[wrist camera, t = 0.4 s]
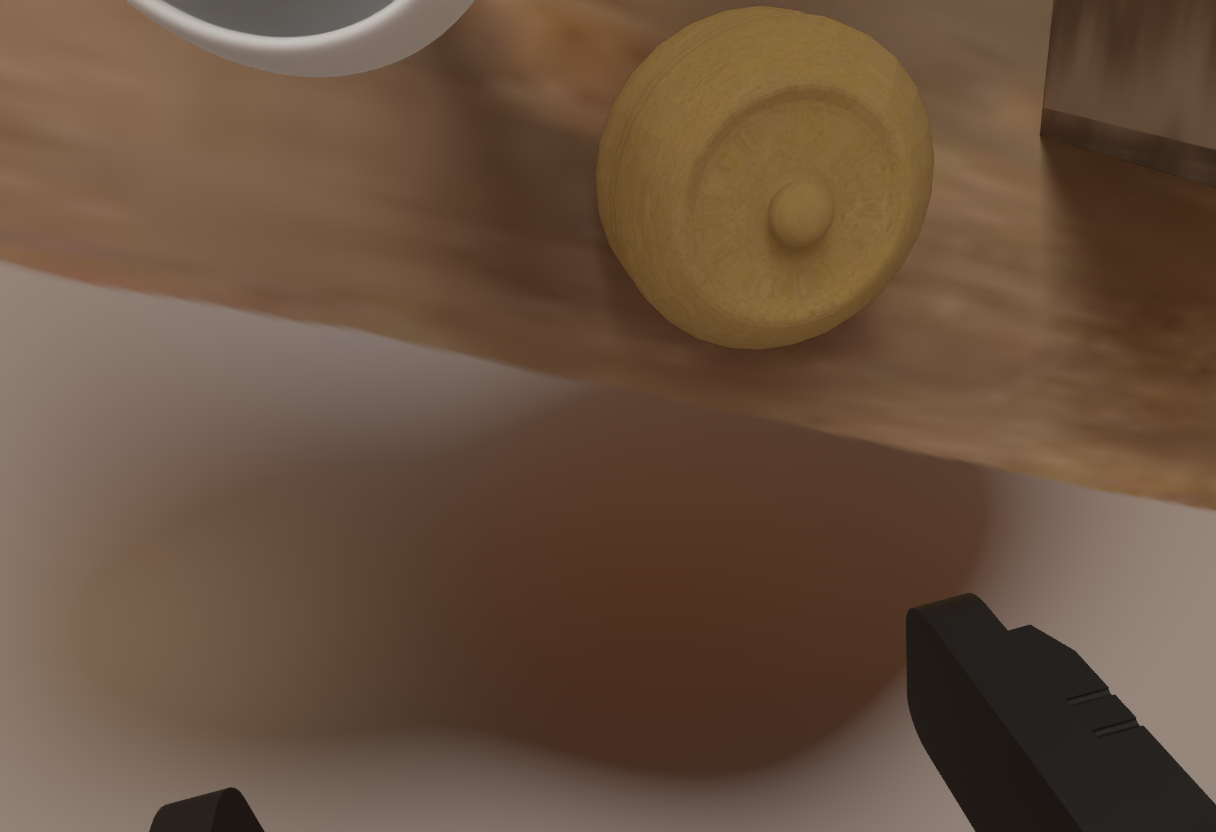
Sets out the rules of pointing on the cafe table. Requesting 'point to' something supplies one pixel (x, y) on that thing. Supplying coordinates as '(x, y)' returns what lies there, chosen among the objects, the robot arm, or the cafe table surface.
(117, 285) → the cafe table surface
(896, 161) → the pot
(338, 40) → the wineglass
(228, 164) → the cafe table surface
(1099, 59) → the wood grain block
